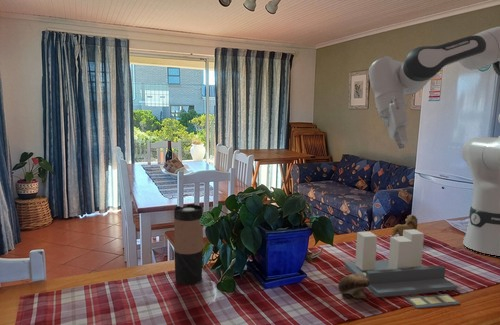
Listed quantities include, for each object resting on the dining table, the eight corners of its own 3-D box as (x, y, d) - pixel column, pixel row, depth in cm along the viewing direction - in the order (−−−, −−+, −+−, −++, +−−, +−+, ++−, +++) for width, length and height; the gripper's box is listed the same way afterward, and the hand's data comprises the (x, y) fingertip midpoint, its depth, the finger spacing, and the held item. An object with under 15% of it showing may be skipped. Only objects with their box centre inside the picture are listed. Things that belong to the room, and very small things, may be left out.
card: (446, 295, 88) (447, 293, 88) (460, 304, 84) (460, 302, 84) (405, 298, 86) (405, 297, 86) (416, 308, 82) (417, 307, 82)
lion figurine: (405, 235, 134) (407, 212, 132) (419, 238, 130) (421, 215, 128) (386, 243, 124) (388, 219, 123) (400, 247, 120) (402, 222, 119)
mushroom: (377, 294, 82) (366, 268, 84) (346, 305, 82) (335, 279, 85) (373, 294, 89) (363, 270, 91) (344, 304, 89) (334, 280, 92)
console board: (412, 261, 108) (413, 249, 108) (456, 290, 91) (458, 275, 90) (344, 266, 104) (345, 253, 103) (377, 297, 86) (378, 281, 86)
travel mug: (197, 287, 90) (197, 212, 87) (169, 283, 91) (168, 210, 88) (206, 274, 97) (206, 205, 94) (181, 271, 98) (180, 203, 96)
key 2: (412, 260, 105) (415, 229, 104) (421, 266, 101) (424, 233, 100) (400, 261, 105) (403, 229, 103) (409, 267, 101) (411, 234, 99)
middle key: (400, 269, 99) (403, 236, 98) (409, 275, 95) (412, 241, 94) (387, 270, 98) (390, 236, 97) (396, 276, 94) (399, 241, 93)
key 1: (367, 263, 102) (369, 231, 101) (374, 269, 99) (377, 236, 97) (355, 264, 102) (357, 232, 100) (362, 270, 98) (364, 236, 96)
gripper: (405, 91, 100) (418, 135, 97) (399, 112, 119) (410, 150, 116) (382, 97, 102) (395, 141, 99) (380, 117, 121) (390, 154, 118)
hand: (403, 146), depth 108 cm, fingers open, 8 cm apart
